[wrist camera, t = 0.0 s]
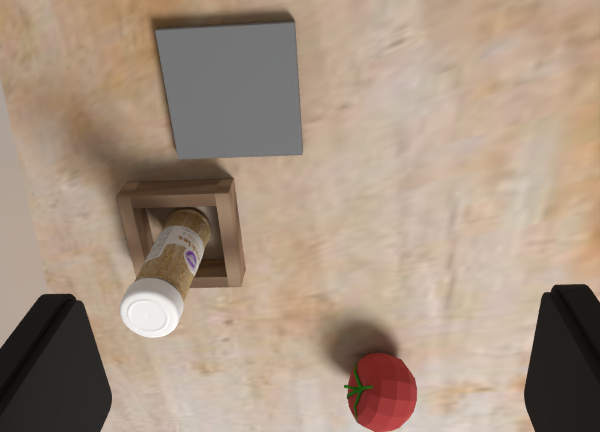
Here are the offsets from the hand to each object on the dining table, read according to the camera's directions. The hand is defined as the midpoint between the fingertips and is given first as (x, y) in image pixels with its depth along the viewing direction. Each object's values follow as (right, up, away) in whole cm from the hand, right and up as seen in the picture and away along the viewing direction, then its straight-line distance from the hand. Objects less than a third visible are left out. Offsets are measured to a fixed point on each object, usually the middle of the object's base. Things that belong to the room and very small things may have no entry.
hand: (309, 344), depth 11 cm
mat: (-6, +13, +35) cm, 38 cm away
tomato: (+8, -14, +49) cm, 52 cm away
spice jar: (-11, +2, +42) cm, 44 cm away
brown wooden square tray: (-11, +2, +42) cm, 43 cm away
